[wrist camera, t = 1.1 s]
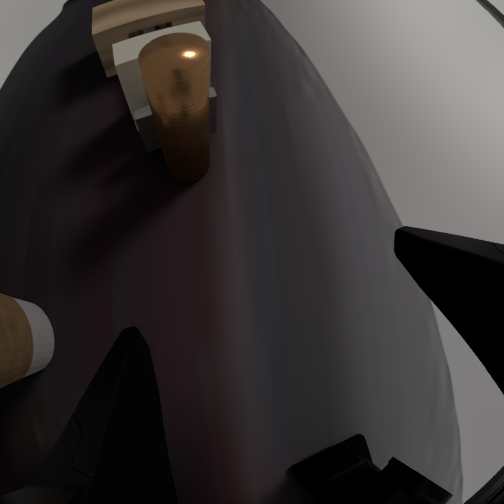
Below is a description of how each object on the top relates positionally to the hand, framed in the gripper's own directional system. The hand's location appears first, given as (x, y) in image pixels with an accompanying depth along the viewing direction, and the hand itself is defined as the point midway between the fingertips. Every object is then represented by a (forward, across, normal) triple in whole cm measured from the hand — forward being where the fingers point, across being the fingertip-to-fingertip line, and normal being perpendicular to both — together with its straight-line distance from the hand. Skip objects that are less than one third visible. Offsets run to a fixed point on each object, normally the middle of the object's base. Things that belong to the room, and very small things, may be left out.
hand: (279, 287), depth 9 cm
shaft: (+23, +1, -8) cm, 25 cm away
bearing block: (+29, +1, -14) cm, 32 cm away
